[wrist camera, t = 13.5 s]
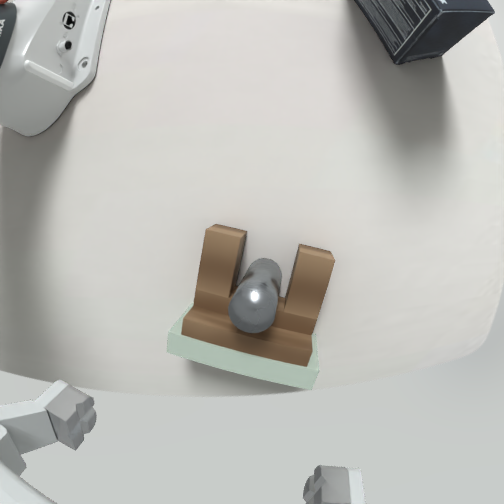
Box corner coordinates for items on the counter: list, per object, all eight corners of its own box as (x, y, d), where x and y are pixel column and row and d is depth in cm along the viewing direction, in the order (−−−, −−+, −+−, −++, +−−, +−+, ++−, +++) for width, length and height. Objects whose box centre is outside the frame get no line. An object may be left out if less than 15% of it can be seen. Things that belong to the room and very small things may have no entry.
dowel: (251, 254, 26) (232, 284, 18) (285, 262, 26) (280, 296, 18) (244, 286, 27) (224, 326, 19) (277, 294, 27) (269, 337, 19)
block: (215, 223, 26) (195, 235, 20) (330, 251, 25) (339, 270, 19) (201, 307, 28) (181, 334, 22) (305, 333, 27) (306, 367, 21)
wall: (192, 303, 28) (168, 331, 22) (315, 334, 27) (319, 370, 21) (189, 321, 29) (166, 352, 23) (309, 351, 27) (311, 389, 22)
